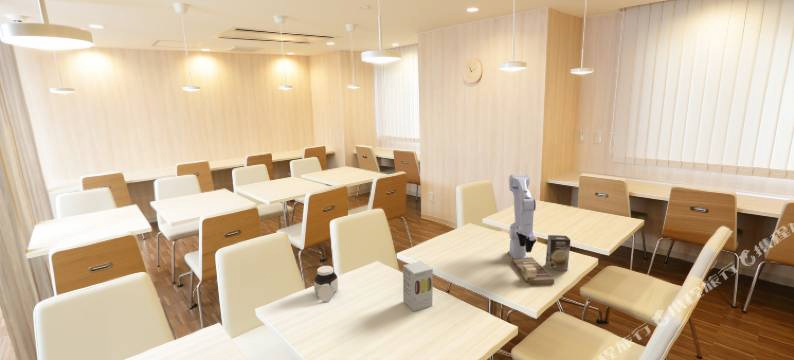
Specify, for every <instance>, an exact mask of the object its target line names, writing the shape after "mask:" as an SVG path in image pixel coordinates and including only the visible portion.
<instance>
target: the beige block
mask: <svg viewBox="0 0 794 360" xmlns="http://www.w3.org/2000/svg"><path fill="white" fill-rule="evenodd" d="M537 270H539V274H540V270H541V268H535V267H534V266H533V265H523V267H522V275H521V276H522V278H523V279H524V280H525V281H526V282H527V281H528V278H534V277H536V272H537Z"/></svg>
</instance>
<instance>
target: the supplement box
mask: <svg viewBox="0 0 794 360" xmlns="http://www.w3.org/2000/svg"><path fill="white" fill-rule="evenodd" d="M433 269H434V268H432V267H431V266H429V265H428V264H427V263H425V262H424V261H422V260H420V261H416V262H411V263H408V264H403V265H402V275H403V276H402V278H403V279H402V281H403V283H402V285H403V287H402V289H403V290H402V292H403V296H402V297H403V299H402V301H403V303H405V305H406V306H407V307H409V309H410V310H411V311H412V312H416V311H419V310H423V309H426V308H429V307H432V306H433V289H434V288H433V287H434V286H433V284H434V282H433V281H434V280H433V278H434V270H433Z"/></svg>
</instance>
